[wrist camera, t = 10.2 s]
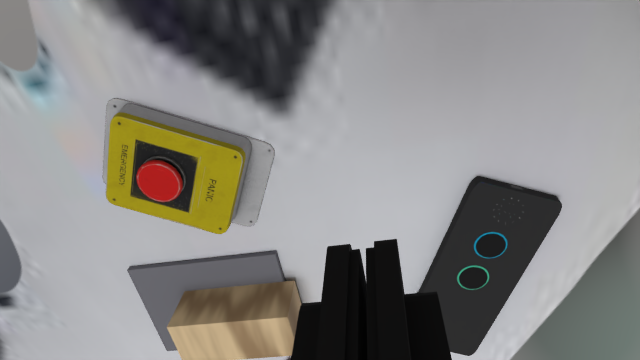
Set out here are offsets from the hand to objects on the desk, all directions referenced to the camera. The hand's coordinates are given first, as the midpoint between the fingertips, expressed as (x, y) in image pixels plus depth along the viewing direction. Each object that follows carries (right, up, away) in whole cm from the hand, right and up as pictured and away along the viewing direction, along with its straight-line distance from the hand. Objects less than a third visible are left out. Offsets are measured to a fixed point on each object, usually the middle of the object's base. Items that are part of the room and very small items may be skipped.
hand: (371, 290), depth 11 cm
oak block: (-4, -11, +34) cm, 35 cm away
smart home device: (+14, -6, +34) cm, 37 cm away
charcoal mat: (-12, -11, +38) cm, 41 cm away
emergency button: (-13, +4, +31) cm, 34 cm away
